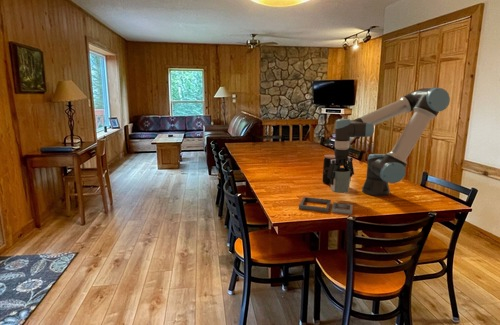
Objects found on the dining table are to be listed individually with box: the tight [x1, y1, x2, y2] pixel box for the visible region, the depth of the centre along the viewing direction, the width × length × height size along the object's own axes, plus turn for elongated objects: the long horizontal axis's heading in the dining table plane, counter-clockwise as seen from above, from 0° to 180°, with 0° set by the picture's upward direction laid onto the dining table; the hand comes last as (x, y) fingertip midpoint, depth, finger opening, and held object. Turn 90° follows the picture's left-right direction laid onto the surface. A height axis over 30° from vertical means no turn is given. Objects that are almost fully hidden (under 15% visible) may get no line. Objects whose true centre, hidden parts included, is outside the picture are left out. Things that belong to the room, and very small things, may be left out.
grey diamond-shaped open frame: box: [331, 202, 354, 216], centre depth 155 cm, size 9×9×2 cm
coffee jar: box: [322, 154, 338, 186], centre depth 204 cm, size 11×11×18 cm
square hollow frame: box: [298, 196, 332, 214], centre depth 161 cm, size 14×14×2 cm
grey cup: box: [332, 166, 351, 194], centre depth 170 cm, size 10×10×12 cm
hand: (340, 188), depth 171 cm, fingers closed on grey cup, 9 cm apart
